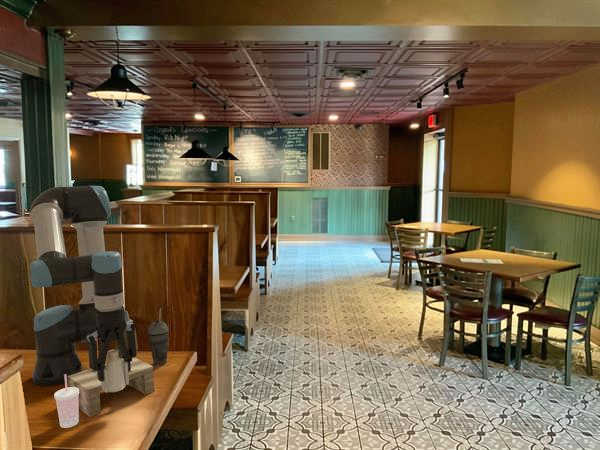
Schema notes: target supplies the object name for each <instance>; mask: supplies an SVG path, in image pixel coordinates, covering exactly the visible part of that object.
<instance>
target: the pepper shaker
mask: <svg viewBox="0 0 600 450" xmlns="http://www.w3.org/2000/svg"><path fill="white" fill-rule="evenodd" d="M118 352H119V351H118V350H117V349H115V348H114V349H110V350H108V352H107V356H108V357H107V358H108V359H106V362H105V364H106V369H107V373H108V387H109V392H108V393H116V392H119V391H123V389H125V387H126V384H125V379H124V373H123V368H122V363H121V359H120V358H119V357H118Z"/></svg>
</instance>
